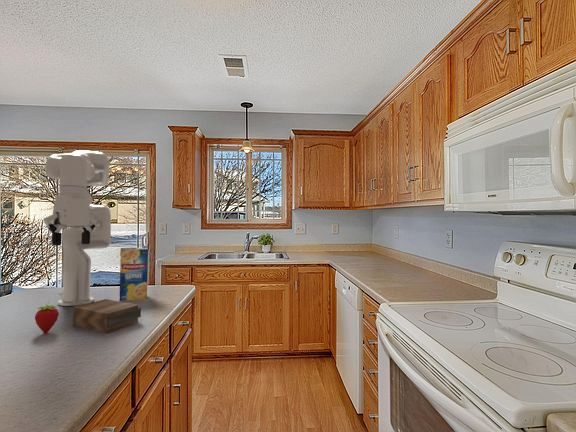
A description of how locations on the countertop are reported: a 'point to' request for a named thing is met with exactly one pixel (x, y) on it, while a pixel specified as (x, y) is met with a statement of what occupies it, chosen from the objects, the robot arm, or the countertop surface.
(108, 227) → the robot arm
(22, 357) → the countertop surface
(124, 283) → the blue yellow food box
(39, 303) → the countertop surface
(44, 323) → the strawberry
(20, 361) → the countertop surface
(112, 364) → the countertop surface
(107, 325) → the brown wooden block
